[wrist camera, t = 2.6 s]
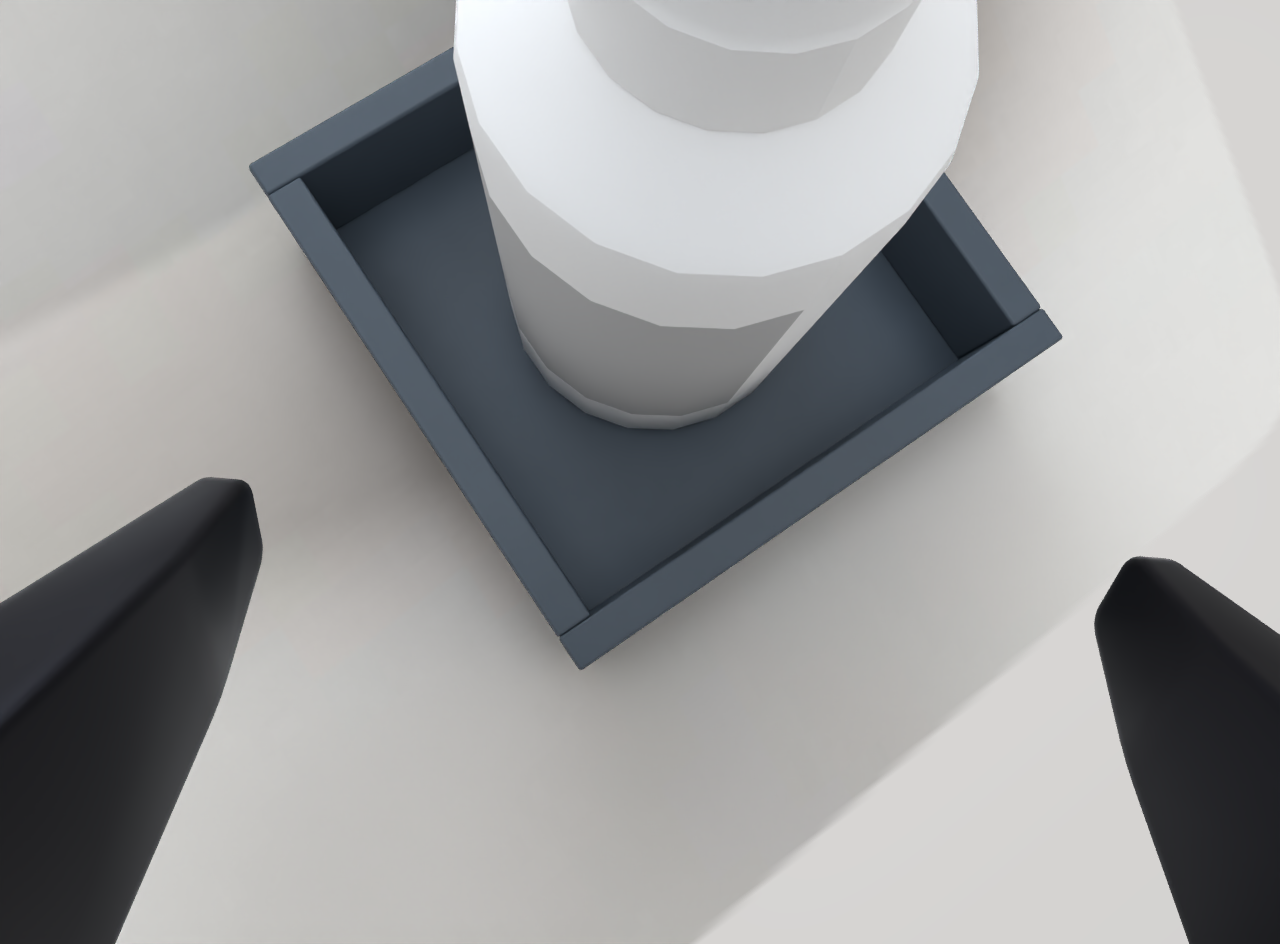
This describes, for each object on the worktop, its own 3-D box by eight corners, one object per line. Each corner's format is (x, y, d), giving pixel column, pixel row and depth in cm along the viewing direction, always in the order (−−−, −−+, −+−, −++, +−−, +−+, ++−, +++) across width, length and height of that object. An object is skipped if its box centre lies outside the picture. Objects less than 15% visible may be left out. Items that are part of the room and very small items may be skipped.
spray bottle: (496, 178, 23) (194, -1343, 5) (767, 151, 23) (1401, -1298, 5) (529, 449, 22) (318, -155, 4) (808, 415, 22) (1711, -246, 5)
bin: (987, 376, 24) (1064, 337, 20) (579, 656, 22) (580, 671, 18) (712, -11, 24) (736, -120, 21) (300, 233, 23) (245, 164, 19)
